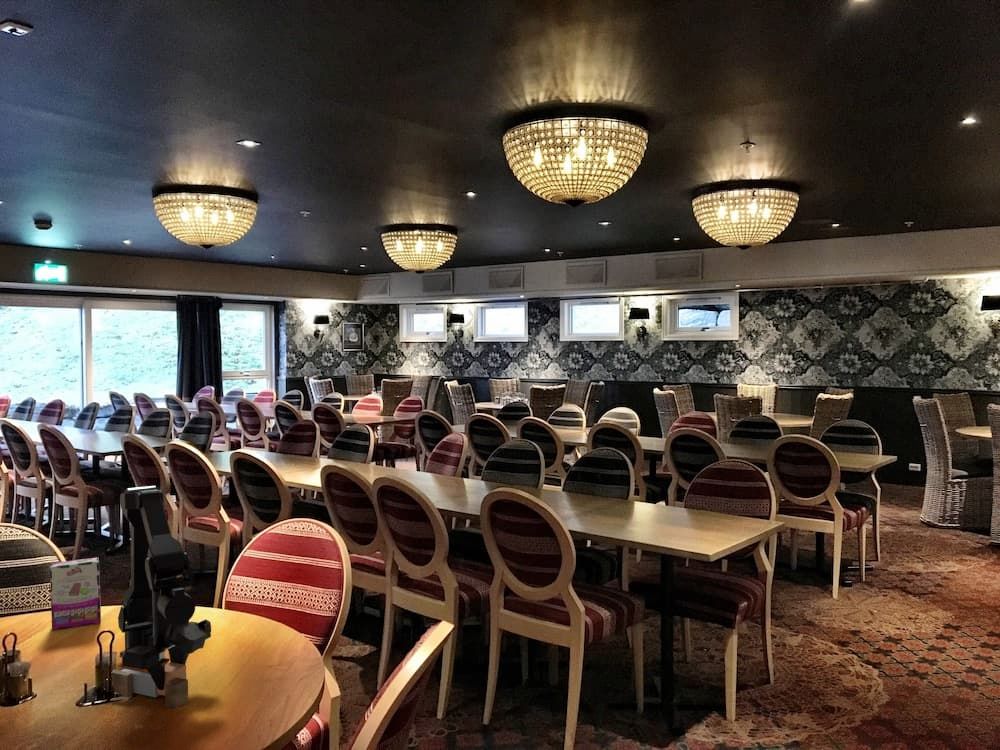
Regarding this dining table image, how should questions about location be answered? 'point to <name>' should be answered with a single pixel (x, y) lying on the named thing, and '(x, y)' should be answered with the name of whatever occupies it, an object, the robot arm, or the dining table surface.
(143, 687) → the grey l-shaped bracket
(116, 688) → the grey-brown blocks
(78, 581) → the candy bar box
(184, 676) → the tan rectangular block
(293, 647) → the dining table surface
